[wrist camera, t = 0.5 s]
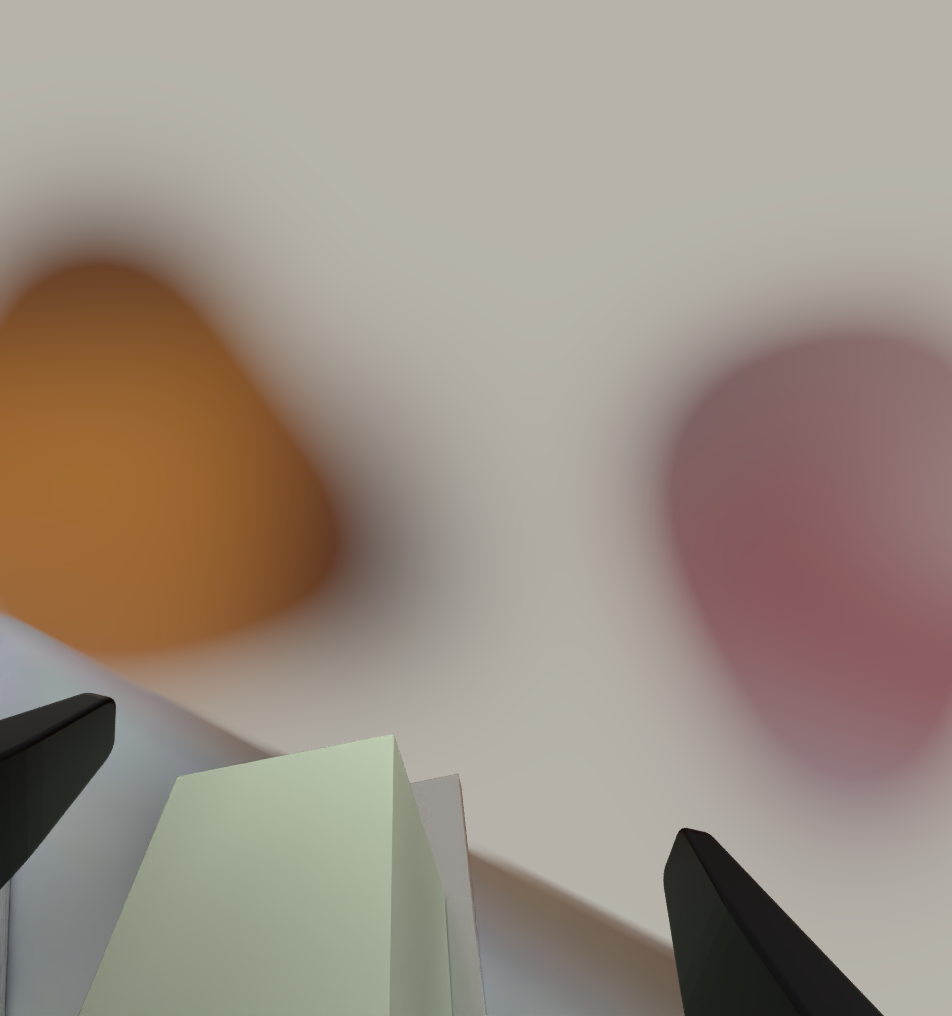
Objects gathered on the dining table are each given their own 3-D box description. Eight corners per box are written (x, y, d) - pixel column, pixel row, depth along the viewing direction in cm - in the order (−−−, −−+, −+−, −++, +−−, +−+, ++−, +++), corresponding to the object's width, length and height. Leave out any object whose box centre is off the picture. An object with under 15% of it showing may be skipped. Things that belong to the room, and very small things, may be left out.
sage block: (460, 1147, 13) (388, 1028, 9) (232, 1203, 13) (39, 1108, 9) (443, 889, 18) (393, 733, 14) (281, 924, 18) (177, 776, 14)
